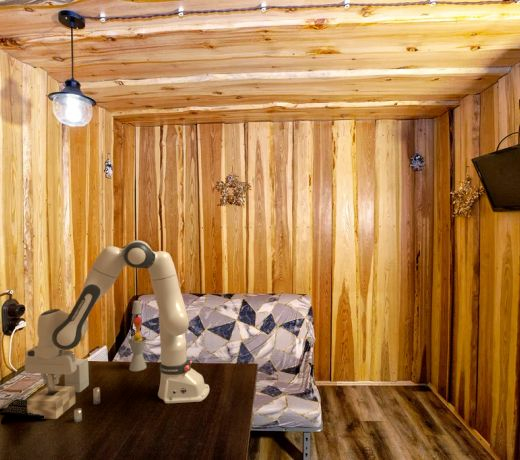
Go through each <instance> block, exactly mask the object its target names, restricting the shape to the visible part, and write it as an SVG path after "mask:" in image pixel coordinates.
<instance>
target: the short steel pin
mask: <svg viewBox="0 0 520 460" xmlns="http://www.w3.org/2000/svg"><path fill="white" fill-rule="evenodd" d="M73 418H74V420H73V421H74V423H79V422H81V421H83V410H82V408H80V407H79V408H75V409H74V410H73Z"/></svg>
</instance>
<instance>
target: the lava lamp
mask: <svg viewBox="0 0 520 460" xmlns="http://www.w3.org/2000/svg"><path fill="white" fill-rule="evenodd" d="M131 314H132V315H141V314H143V311H142V305H141V301H140V300H134V301H133V303H132V310H131ZM132 324H133V325H134V326H135V333H134V334H133V337H130V338H129V339H127V341H128V342H127V343H128V345H129V346H130V349H131V351H132V353H133V354H132V358H131V361H130V364H129V368H128V370H129V371H131V372H140V371H143V370H146V369H147V364H146V361H145V358H144V354H143V350H144V348H145V345H146V342H147V337H146V336H142V334H141V325H142V318H141V317H140V316H135V317H134V318H133V319H132Z"/></svg>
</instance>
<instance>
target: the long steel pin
mask: <svg viewBox="0 0 520 460" xmlns="http://www.w3.org/2000/svg"><path fill="white" fill-rule="evenodd" d="M46 375H47V384H46V385H47V386H48V396H53V395H55V386H56V384H53V380H54V379H55V378H56V376H55V374H46Z"/></svg>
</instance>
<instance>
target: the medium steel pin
mask: <svg viewBox="0 0 520 460" xmlns="http://www.w3.org/2000/svg"><path fill="white" fill-rule="evenodd" d="M92 391H93V392H92V393H93V394H92V396H93V399H92V400H93V405H98V404H100V403H101V388H100V387H99V386H98V387H97V386H96V387H94V388H93V390H92Z"/></svg>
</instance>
